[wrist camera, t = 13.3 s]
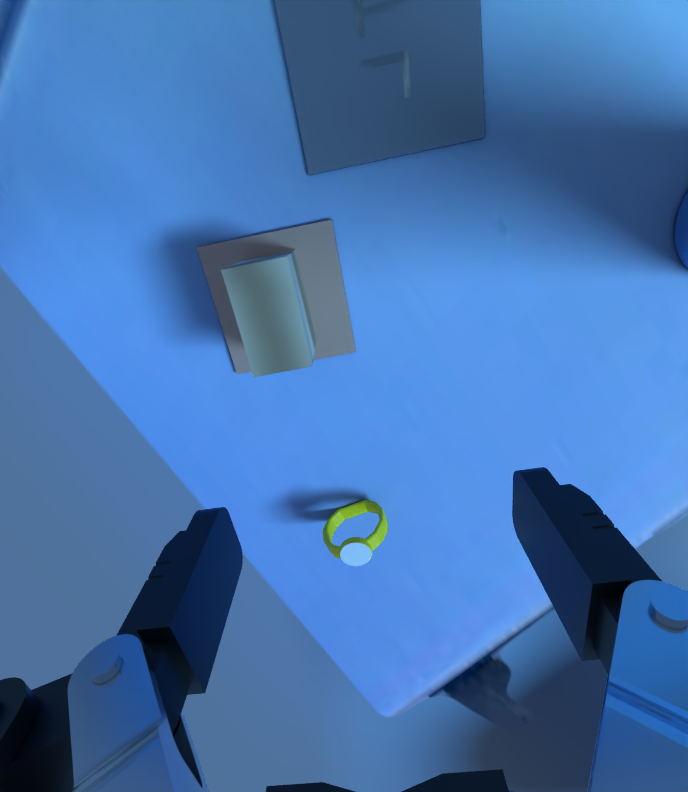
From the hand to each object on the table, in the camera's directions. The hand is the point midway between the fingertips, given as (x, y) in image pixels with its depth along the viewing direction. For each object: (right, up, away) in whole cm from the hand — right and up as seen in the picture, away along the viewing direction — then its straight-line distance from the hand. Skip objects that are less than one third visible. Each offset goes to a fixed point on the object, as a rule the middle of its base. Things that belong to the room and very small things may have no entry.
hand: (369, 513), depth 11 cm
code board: (+2, +25, +13) cm, 28 cm away
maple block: (-6, +10, +19) cm, 23 cm away
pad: (-6, +11, +20) cm, 23 cm away
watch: (0, -8, +28) cm, 29 cm away
